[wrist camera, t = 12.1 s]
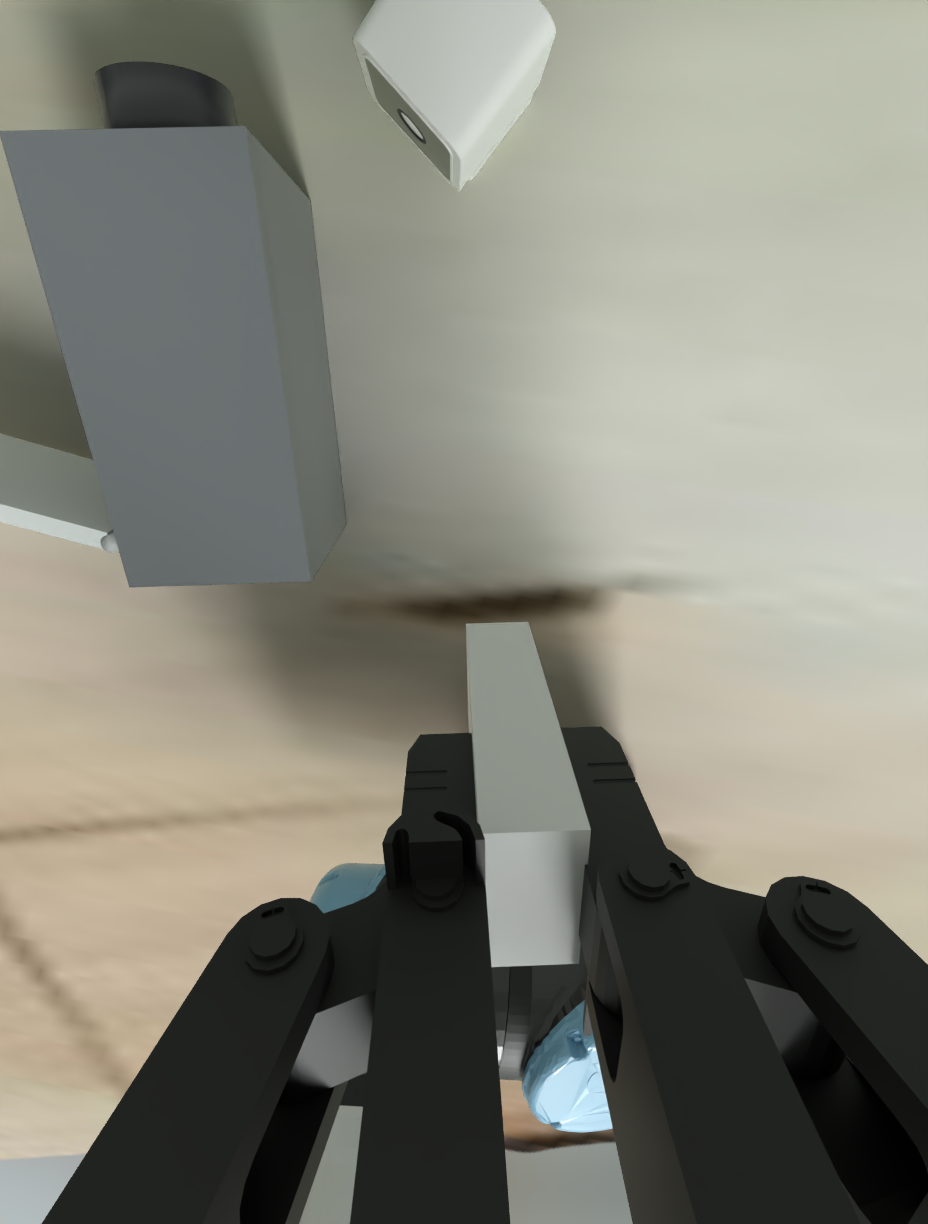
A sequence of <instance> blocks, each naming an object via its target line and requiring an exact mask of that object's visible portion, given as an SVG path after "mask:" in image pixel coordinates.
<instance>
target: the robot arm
mask: <svg viewBox="0 0 928 1224" xmlns="http://www.w3.org/2000/svg"><path fill="white" fill-rule="evenodd" d="M466 647H467V687H468V723H469V733H455V734H426V735H420V736H419V738H418V739H417V740H416V742H415V743H414V745H413V746H412V747H411V749H410V750H409V751H408V758H407V767H406V777H405V787H404V796H403V806H402V815H401V816H400V817H399V818H398V819H397V820H396V821H395V822H394V823H393V824H392V825H391V826H390V827H389V828H388V830H387V833H386V836H385V838H384V841H383V843H382V844H383V853H384V862H385V864H357V863H346V864H341V865H338V866H336V867H334V868H333V869H331V870H330V871H329V872H328V873H327V874H326V875H325V876H324V877H323V878H322V879H321V881H320V882H319V884H318V886H317V887H316V889H315V891H314V893H313V895H312V897H311V900H310V902H309V901H306V900H304V899H301V898H280V899H277V900H274V901H271V902H268V903H265V904H262V905H260V906H258V907H257V908H255V909H254V910H252V911H251V912H249V913H248V914H246V915H245V916H243V917H242V918H241V919H240V920H239V921H238V922H237V924H236V925H235V926H234V927H233V928H232V929H231V930H230V932H229V933H228V934H227V935H226V937H225V938H224V940H223V942H222V943H221V945H220V946H219V948H218V949H217V951H216V953H215V954H214V956H213V957H212V959H211V960H210V962H209V963H208V965H207V967H206V968H205V970H204V971H203V973H202V974H201V976H200V977H199V979H198V981H197V982H196V984H195V985H194V987H193V988H192V990H191V992H190V993H189V995H188V996H187V998H186V999H185V1001H184V1002H183V1004H182V1006H181V1007H180V1009H179V1010H178V1012H177V1013H176V1015H175V1017H174V1018H173V1020H172V1021H171V1023H170V1024H169V1026H168V1027H167V1029H166V1031H165V1032H164V1034H163V1035H162V1037H161V1038H160V1040H159V1041H158V1043H157V1045H156V1046H155V1048H154V1049H153V1051H152V1052H151V1054H150V1056H149V1057H148V1059H147V1060H146V1062H145V1063H144V1065H143V1066H142V1068H141V1070H140V1071H139V1073H138V1074H137V1076H136V1077H135V1079H134V1081H133V1082H132V1084H131V1085H130V1087H129V1088H128V1090H127V1091H126V1093H125V1095H124V1096H123V1098H122V1099H121V1101H120V1102H119V1104H118V1105H117V1107H116V1109H115V1110H114V1112H113V1113H112V1115H111V1116H110V1118H109V1120H108V1121H107V1123H106V1124H105V1126H104V1127H103V1129H102V1130H101V1132H100V1134H99V1135H98V1137H97V1138H96V1140H95V1141H94V1143H93V1145H92V1146H91V1148H90V1149H89V1151H88V1152H87V1154H86V1155H85V1157H84V1159H83V1160H82V1162H81V1163H80V1165H79V1167H78V1168H77V1169H76V1171H75V1173H74V1174H73V1176H72V1177H71V1179H70V1180H69V1182H68V1184H67V1185H66V1187H65V1188H64V1190H63V1191H62V1193H61V1194H60V1196H59V1198H58V1199H57V1201H56V1202H55V1204H54V1206H53V1207H52V1209H51V1210H50V1212H49V1213H48V1215H47V1216H46V1218H45V1220H44V1221H43V1223H42V1224H510V1215H509V1201H508V1188H507V1175H506V1174H507V1173H506V1160H505V1146H504V1132H503V1118H502V1104H501V1091H500V1079H505V1080H520V1081H522V1090H523V1094H524V1097H525V1098H526V1100H527V1102H528V1105H529V1108H530V1110H531V1111H532V1113H533V1114H534V1115H535V1116H536V1118H537V1119H538V1120H539V1121H541V1122H542V1123H544V1124H548V1123H550V1125H551V1126H553V1127H554V1128H555V1129H558V1130H562V1131H568V1132H593V1131H601V1130H607V1129H612V1128H613V1131H614V1136H615V1141H616V1145H617V1150H618V1155H619V1160H620V1165H621V1169H622V1174H623V1179H624V1183H625V1188H626V1193H627V1198H628V1203H629V1207H630V1212H631V1217H632V1221H633V1224H928V965H927V964H926V963H925V962H924V961H923V960H922V959H921V958H920V957H919V956H918V955H917V954H916V953H915V952H914V951H913V950H912V949H911V948H910V947H909V946H908V945H907V944H905V943H904V942H903V941H902V940H901V939H900V938H899V937H898V936H897V935H896V934H895V933H894V932H893V931H892V930H891V929H890V928H889V927H888V926H887V925H886V924H885V923H884V922H882V921H881V920H880V919H879V918H878V917H877V916H876V915H875V914H874V913H873V912H872V911H871V910H870V909H869V908H868V907H867V906H865V905H864V904H863V903H861V902H860V901H859V900H857V899H856V898H855V897H854V896H852V895H851V894H850V893H848V892H847V891H845V890H843V889H840V888H838V887H836V886H834V885H832V884H830V883H828V882H826V881H822V880H818V879H814V878H809V877H805V876H798V877H784V878H783V879H781V880H779V881H777V882H776V883H774V884H772V885H771V887H770V889H769V891H768V893H767V896H766V897H762V896H758V895H754V894H749V893H745V892H741V891H737V890H732V889H728V888H724V887H721V886H718V885H715V884H712V883H709V882H707V881H705V880H703V879H701V878H699V877H697V876H695V874H694V873H693V871H692V870H691V869H690V867H689V866H688V864H687V863H686V862H685V861H684V860H682V859H681V858H680V857H678V856H677V855H676V854H674V853H673V852H672V851H671V850H668V849H667V848H666V846H665V845H664V843H663V840H662V838H661V836H660V834H659V831H658V829H657V827H656V825H655V822H654V820H653V818H652V816H651V813H650V811H649V809H648V807H647V804H646V802H645V800H644V798H643V795H642V793H641V791H640V788H639V786H638V784H637V782H635V777H634V775H633V773H632V770H631V768H630V766H628V761H627V759H626V757H625V755H624V752H623V750H622V748H621V746H620V743H619V742H618V741H617V740H616V739H614V738H613V737H612V736H611V735H610V734H609V733H608V732H607V731H606V730H604V729H603V728H602V727H578V728H560V725H559V722H558V719H557V715H556V712H555V709H554V705H553V702H552V699H551V695H550V692H549V689H548V686H547V682H546V679H545V676H544V672H543V669H542V666H541V662H540V659H539V656H538V652H537V649H536V646H535V642H534V639H533V636H532V632H531V629H530V626H529V622H505V623H473V624H466Z"/></svg>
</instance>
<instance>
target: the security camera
mask: <svg viewBox="0 0 928 1224" xmlns="http://www.w3.org/2000/svg"><path fill="white" fill-rule="evenodd" d="M555 35H556V29H555V24H554V22H553V19H552V17H551V15H550V13H549V12H548V10H547V9H546V7H545V6H544V5H543V3H542V2H541V1H540V0H376V1H375V2H374V4H373V6H372V7H371V9H370V10H369V12H368V14H367V15H366V17H365V18H364V20H363V22H362V23H361V25H360V26H359V28H358V30H357V31H356V33H355V34H354V36H353V42H354V46H355V49H356V52H357V55H358V59H359V62H360V65H361V69H362V72H363V75H364V79H365V82H366V85H367V88H368V91H369V93H370V94H371V96H372V97H373V99H374V100H375V101H376V103H377V104H378V105H379V106H380V107H381V108H382V110H383V111H384V112H385V113H386V114H387V115H388V116H389V117H390V118H391V119H392V121H393V122H394V123H395V124H396V125H397V126H398V127H399V128H400V129H401V131H402V132H403V133H404V134H405V135H406V136H407V137H408V138H409V139H410V140H411V142H412V143H413V144H414V145H415V146H416V147H417V148H418V149H419V150H420V151H421V153H422V154H423V155H424V156H425V157H426V158H427V159H428V160H429V161H430V162H431V164H432V165H433V166H434V167H435V168H436V169H437V170H438V171H439V172H440V174H441V175H442V176H443V177H444V178H445V179H446V180H447V181H448V182H449V183H450V184H451V185H452V186H453V187H454V188H455V189H456V190H458V191H460V190H461V189H462V188H463V186H464V185H465V183H466V182H467V181H471V180H472V179H473V178H474V177H475V176H476V174H477V173H478V172H479V170H480V169H481V168H482V166H483V165H484V164H485V162H486V161H487V160H488V158H489V157H490V155H491V154H492V153H493V151H494V150H495V149H496V147H497V146H498V145H499V143H500V142H501V141H502V139H503V138H504V137H505V135H506V134H507V133H508V131H509V130H510V129H511V127H512V126H513V125H514V123H515V122H516V121H517V119H518V118H519V117H520V115H521V114H522V113H523V111H524V110H525V109H526V107H527V106H528V105H529V103H530V102H531V100H532V97H533V93H534V91H535V90H536V88H537V87H538V86H539V84H540V81H541V78H542V75H543V72H544V69H545V66H546V62H547V59H548V56H549V53H550V50H551V47H552V44H553V41H554V38H555Z"/></svg>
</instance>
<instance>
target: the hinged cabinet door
mask: <svg viewBox="0 0 928 1224" xmlns="http://www.w3.org/2000/svg"><path fill="white" fill-rule="evenodd" d="M0 522H3V523H6V524H10V525H14V526H18V527H21V528H25V529H29V530H33V531H36V532H40V533H44V534H48V535H52V536H55V537H59V538H63V539H67V540H70V541H74V542H78V543H82V544H85V545H89V546H93V547H97V548H100V549H104V550H105V551H107V552H109V553H115V552H117V551H119V549H118V546H117V542H116V539H115V535H114V532H113V528H112V525H111V521H110V518H109V514H108V511H107V507H106V504H105V500H104V497H103V493H102V490H101V486H100V483H99V479H98V476H97V472H96V469H95V465H94V462H93V460H91V459H88V458H84V457H81V456H77V455H74V454H70V453H67V452H64V451H60V450H57V449H53V448H50V447H46V446H43V445H39V444H36V443H32V442H29V441H25V440H22V439H18V438H15V437H11V436H8V435H4V434H1V433H0Z"/></svg>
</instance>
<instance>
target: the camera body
mask: <svg viewBox="0 0 928 1224" xmlns="http://www.w3.org/2000/svg"><path fill="white" fill-rule="evenodd" d="M93 81H94V86H95V91H96V95H97V99H98V104H99V108H100V113H101V117H102V122H103V126H104V129H77V130H29V131H0V137H1V140H2V144H3V147H4V151H5V154H6V158H7V161H8V165H9V168H10V172H11V175H12V179H13V182H14V186H15V189H16V193H17V196H18V200H19V203H20V207H21V210H22V214H23V217H24V221H25V224H26V228H27V231H28V235H29V238H30V242H31V245H32V249H33V252H34V256H35V259H36V263H37V266H38V270H39V273H40V277H41V280H42V284H43V287H44V291H45V294H46V298H47V301H48V305H49V308H50V312H51V315H52V319H53V322H54V326H55V329H56V332H57V336H58V339H59V343H60V346H61V350H62V353H63V357H64V360H65V364H66V367H67V371H68V374H69V378H70V381H71V385H72V388H73V392H74V395H75V399H76V402H77V406H78V409H79V413H80V416H81V420H82V423H83V427H84V430H85V434H86V437H87V441H88V444H89V448H90V451H91V455H92V458H93V462H94V465H95V469H96V472H97V476H98V479H99V483H100V486H101V490H102V493H103V497H104V500H105V504H106V507H107V511H108V514H109V518H110V521H111V525H112V528H113V532H114V535H115V539H116V542H117V546H118V549H119V553H120V556H121V560H122V563H123V567H124V570H125V574H126V577H127V581H128V584H129V587H154V586H186V585H219V584H251V583H283V582H311V581H312V579H313V577H314V576H315V574H316V573H317V571H318V569H319V568H320V566H321V565H322V563H323V561H324V560H325V558H326V556H327V555H328V553H329V552H330V550H331V548H332V547H333V545H334V544H335V542H336V540H337V539H338V537H339V535H340V534H341V532H342V531H343V529H344V527H345V526H346V524H347V523H346V514H345V505H344V496H343V487H342V478H341V469H340V460H339V451H338V442H337V433H336V424H335V415H334V406H333V397H332V388H331V379H330V370H329V361H328V352H327V344H326V335H325V326H324V317H323V308H322V299H321V290H320V281H319V272H318V263H317V254H316V245H315V236H314V227H313V218H312V209H311V201H310V199H309V198H308V197H307V196H306V195H305V194H304V193H303V191H302V190H301V189H300V188H299V187H298V186H297V185H296V183H295V182H294V181H293V180H292V179H291V178H290V177H289V175H288V174H287V173H286V172H285V171H284V170H283V169H282V167H281V166H280V165H279V164H278V163H277V162H276V161H275V160H274V158H273V157H272V156H271V155H270V154H269V153H268V152H267V150H266V149H265V148H264V147H263V146H262V145H261V144H260V142H259V141H258V140H257V139H256V138H255V137H254V136H253V134H252V133H251V132H250V131H249V130H248V129H247V128H246V126H237V121H236V114H235V108H234V101H233V96H232V94H231V92H230V91H229V90H228V89H227V88H226V87H225V86H224V85H223V84H221V83H220V82H218V81H217V80H215V79H213V78H211V77H209V76H206V75H204V74H202V73H199V72H196V71H193V70H190V69H186V68H183V67H178V66H174V65H168V64H162V63H154V62H123V63H116V64H111V65H108V66H105V67H103V68H101V69H99V70H98V71H97V72H96V73H95V74H94V77H93Z"/></svg>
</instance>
